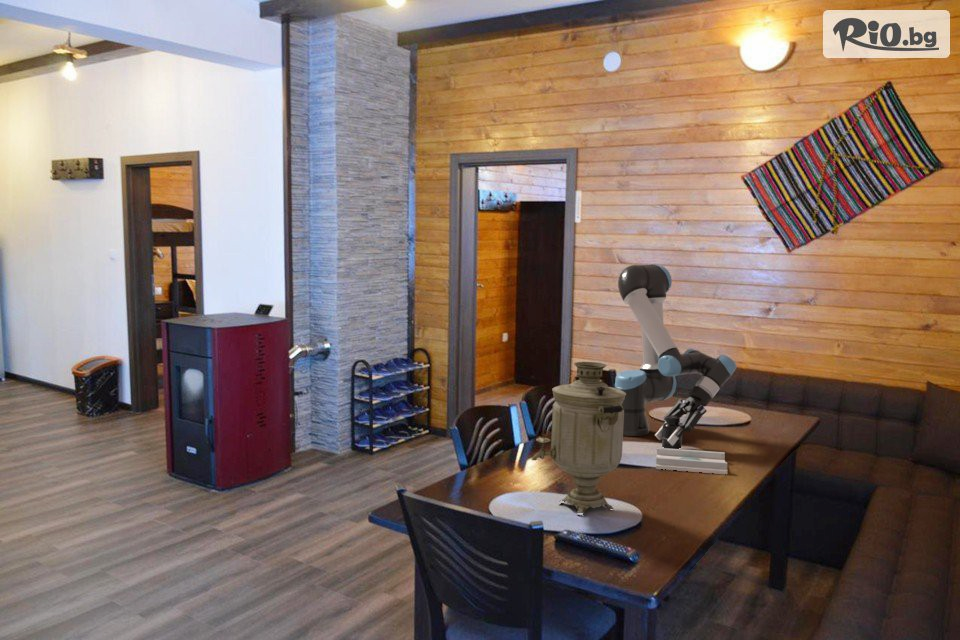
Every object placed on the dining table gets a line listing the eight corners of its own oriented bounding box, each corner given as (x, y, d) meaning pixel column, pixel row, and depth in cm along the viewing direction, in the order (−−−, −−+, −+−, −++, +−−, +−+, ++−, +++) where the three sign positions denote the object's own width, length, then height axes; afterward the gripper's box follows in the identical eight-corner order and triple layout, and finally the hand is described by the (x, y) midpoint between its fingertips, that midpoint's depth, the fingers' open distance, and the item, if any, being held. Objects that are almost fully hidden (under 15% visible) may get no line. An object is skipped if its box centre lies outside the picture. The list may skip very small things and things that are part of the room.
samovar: (521, 489, 218) (523, 356, 214) (608, 487, 220) (611, 355, 216) (536, 528, 189) (538, 373, 184) (636, 525, 190) (640, 373, 186)
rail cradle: (656, 469, 239) (656, 459, 238) (656, 455, 254) (657, 446, 254) (727, 474, 233) (727, 464, 233) (723, 460, 249) (724, 451, 248)
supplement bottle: (659, 450, 260) (660, 417, 259) (664, 446, 266) (665, 413, 265) (679, 453, 257) (680, 419, 256) (683, 448, 263) (684, 415, 262)
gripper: (727, 404, 256) (686, 454, 252) (692, 393, 274) (653, 440, 270) (715, 390, 253) (674, 440, 249) (680, 380, 272) (641, 427, 268)
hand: (663, 440), depth 260 cm, fingers closed on supplement bottle, 7 cm apart
